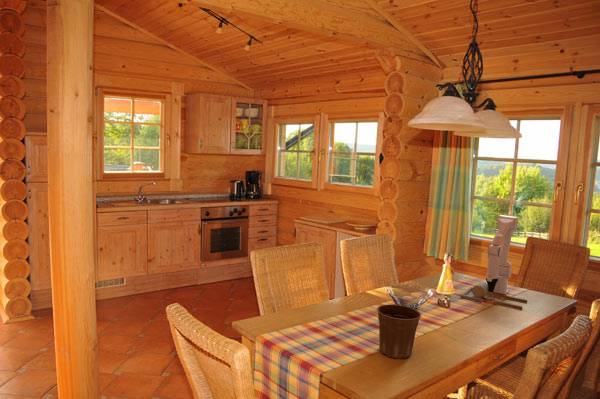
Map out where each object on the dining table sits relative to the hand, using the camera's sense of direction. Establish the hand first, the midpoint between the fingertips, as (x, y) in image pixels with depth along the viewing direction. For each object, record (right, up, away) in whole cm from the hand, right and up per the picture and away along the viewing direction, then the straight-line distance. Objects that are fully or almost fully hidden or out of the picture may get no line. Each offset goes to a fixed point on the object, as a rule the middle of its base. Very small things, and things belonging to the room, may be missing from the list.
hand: (491, 291), depth 242 cm
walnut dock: (+8, -5, -5) cm, 11 cm away
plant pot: (-67, -8, -72) cm, 99 cm away
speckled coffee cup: (-4, -4, +2) cm, 6 cm away
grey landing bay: (-6, -3, +5) cm, 8 cm away
